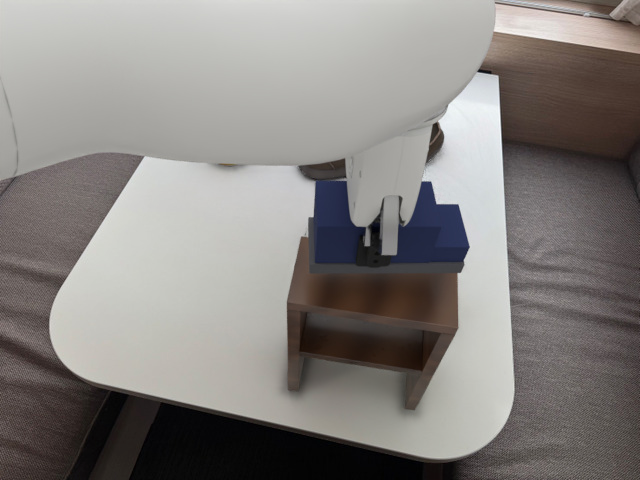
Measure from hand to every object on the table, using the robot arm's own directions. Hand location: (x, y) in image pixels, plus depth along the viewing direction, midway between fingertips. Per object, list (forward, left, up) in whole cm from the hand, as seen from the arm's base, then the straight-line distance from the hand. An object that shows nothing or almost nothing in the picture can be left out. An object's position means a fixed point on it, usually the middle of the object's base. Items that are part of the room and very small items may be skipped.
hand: (369, 236), depth 51 cm
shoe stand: (+1, -1, -31) cm, 31 cm away
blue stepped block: (+1, -1, -2) cm, 3 cm away
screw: (+19, +15, -32) cm, 39 cm away
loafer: (+42, +16, -32) cm, 55 cm away
